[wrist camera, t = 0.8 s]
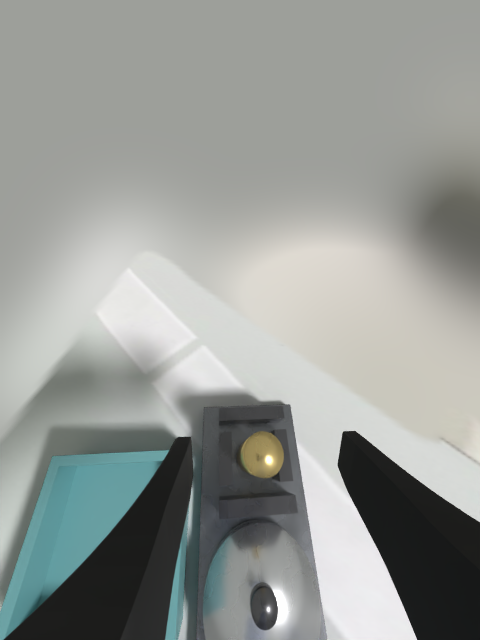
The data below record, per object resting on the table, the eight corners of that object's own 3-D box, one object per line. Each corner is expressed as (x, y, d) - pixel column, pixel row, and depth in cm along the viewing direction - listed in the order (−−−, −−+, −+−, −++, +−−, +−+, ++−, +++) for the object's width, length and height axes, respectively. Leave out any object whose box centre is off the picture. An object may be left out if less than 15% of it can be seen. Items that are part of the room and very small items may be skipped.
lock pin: (266, 472, 23) (286, 477, 16) (237, 474, 23) (244, 479, 16) (263, 439, 24) (280, 430, 18) (236, 440, 24) (242, 432, 17)
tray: (182, 618, 18) (174, 654, 15) (25, 637, 17) (-23, 680, 14) (191, 451, 24) (187, 449, 21) (76, 457, 23) (52, 456, 20)
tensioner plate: (331, 687, 17) (358, 743, 14) (194, 708, 16) (188, 774, 13) (287, 406, 28) (297, 398, 24) (204, 409, 27) (202, 401, 23)
